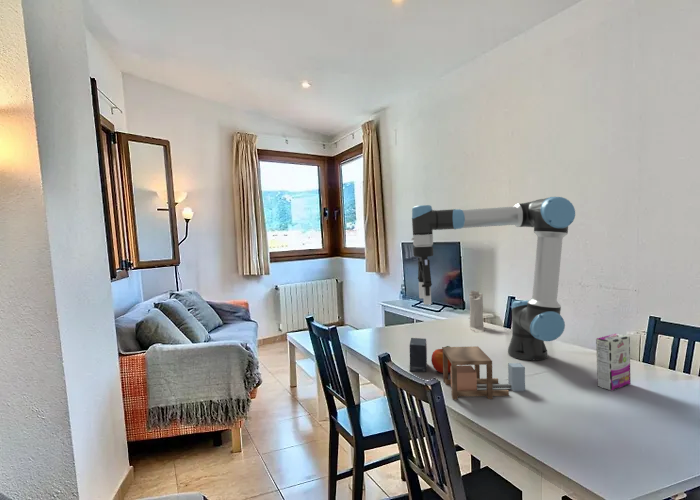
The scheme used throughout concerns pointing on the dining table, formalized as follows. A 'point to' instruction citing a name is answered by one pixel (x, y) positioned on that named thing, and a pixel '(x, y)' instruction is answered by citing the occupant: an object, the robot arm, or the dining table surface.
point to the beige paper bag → (476, 311)
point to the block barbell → (515, 383)
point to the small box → (418, 354)
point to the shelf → (475, 358)
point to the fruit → (439, 360)
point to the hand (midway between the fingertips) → (425, 301)
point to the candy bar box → (613, 361)
